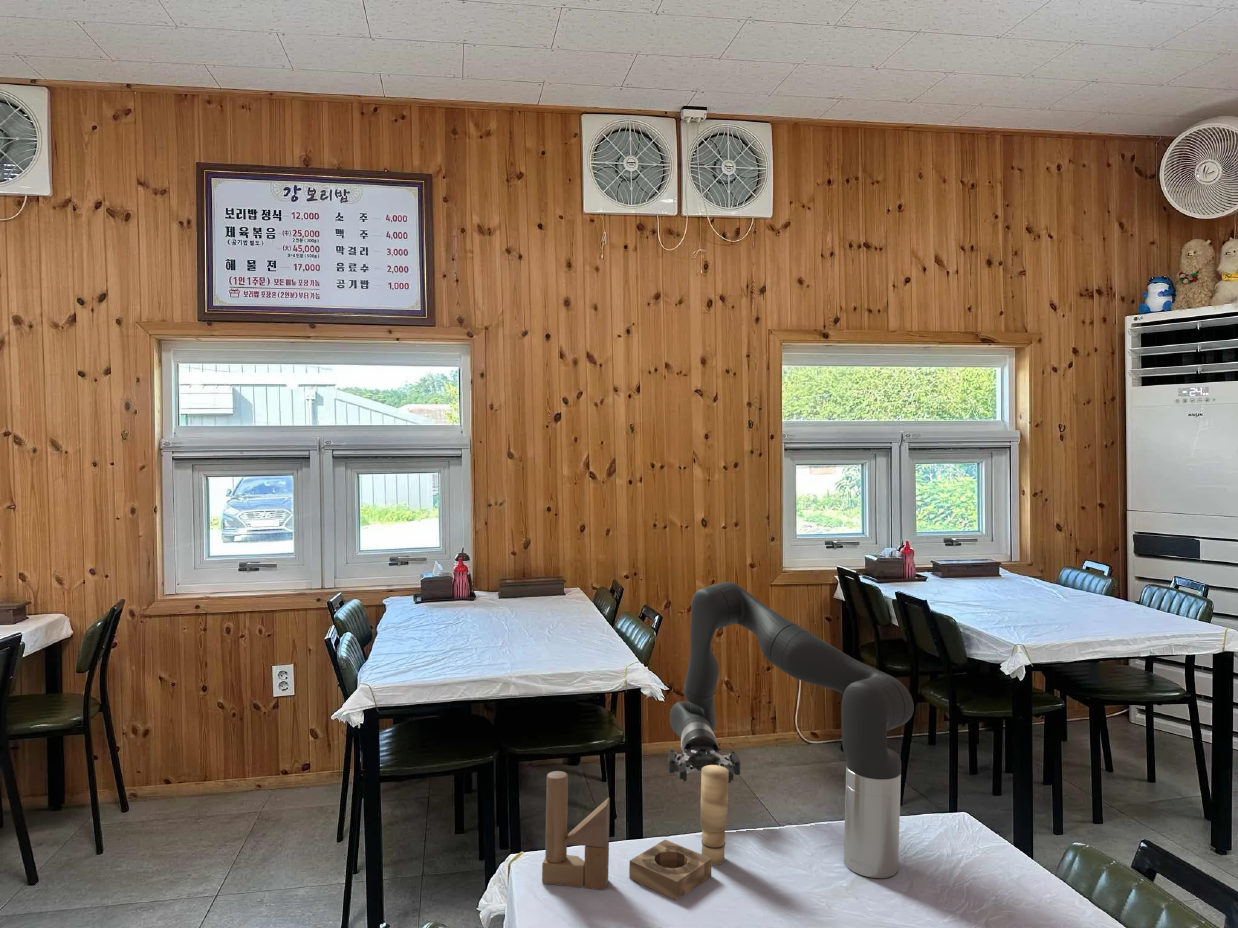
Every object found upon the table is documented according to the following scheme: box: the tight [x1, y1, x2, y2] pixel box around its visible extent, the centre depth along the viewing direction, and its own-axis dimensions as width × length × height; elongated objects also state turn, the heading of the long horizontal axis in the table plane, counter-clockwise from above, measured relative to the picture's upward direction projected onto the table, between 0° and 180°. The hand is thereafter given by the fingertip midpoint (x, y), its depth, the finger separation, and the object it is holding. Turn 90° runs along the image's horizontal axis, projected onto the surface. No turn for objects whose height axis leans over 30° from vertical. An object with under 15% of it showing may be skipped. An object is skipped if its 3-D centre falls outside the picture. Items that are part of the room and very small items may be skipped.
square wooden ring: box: [628, 839, 712, 901], centre depth 140 cm, size 10×10×3 cm
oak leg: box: [699, 765, 729, 866], centre depth 146 cm, size 5×5×16 cm
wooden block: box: [541, 770, 611, 890], centre depth 138 cm, size 4×11×18 cm, turn 81°
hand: (707, 777), depth 158 cm, fingers open, 8 cm apart
